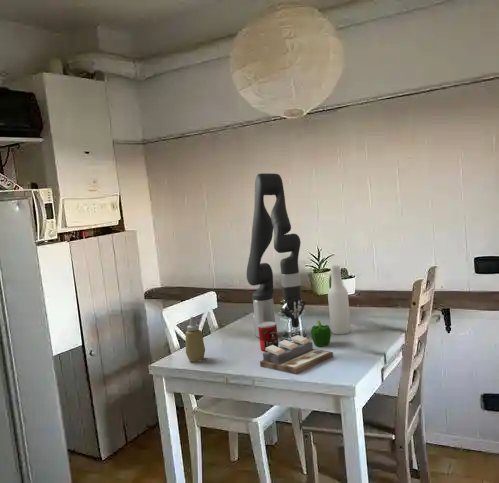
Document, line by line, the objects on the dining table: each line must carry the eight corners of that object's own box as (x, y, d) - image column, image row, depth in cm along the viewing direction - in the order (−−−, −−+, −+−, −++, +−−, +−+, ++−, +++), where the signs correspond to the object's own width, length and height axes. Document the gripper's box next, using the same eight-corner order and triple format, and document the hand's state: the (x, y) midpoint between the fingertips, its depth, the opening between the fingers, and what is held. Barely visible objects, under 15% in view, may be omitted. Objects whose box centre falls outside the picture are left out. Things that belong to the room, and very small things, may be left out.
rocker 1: (265, 351, 216) (265, 347, 216) (272, 348, 219) (272, 344, 219) (277, 356, 212) (277, 353, 212) (284, 353, 215) (285, 350, 214)
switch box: (260, 366, 217) (259, 353, 217) (297, 350, 233) (296, 338, 232) (296, 374, 204) (295, 360, 204) (333, 357, 220) (332, 344, 219)
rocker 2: (278, 346, 222) (278, 342, 221) (285, 343, 224) (285, 339, 224) (290, 351, 217) (291, 347, 217) (297, 348, 220) (297, 344, 220)
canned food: (266, 353, 233) (263, 327, 232) (257, 349, 240) (254, 324, 239) (282, 349, 237) (279, 323, 235) (272, 345, 244) (270, 320, 243)
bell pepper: (331, 347, 232) (329, 323, 231) (311, 348, 234) (309, 324, 233) (332, 341, 241) (330, 318, 240) (313, 342, 242) (310, 319, 241)
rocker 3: (291, 341, 227) (291, 337, 226) (297, 338, 230) (297, 334, 229) (303, 345, 222) (303, 342, 222) (309, 343, 225) (310, 339, 225)
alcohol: (345, 328, 259) (339, 263, 256) (354, 332, 251) (349, 265, 248) (327, 331, 256) (322, 266, 253) (336, 336, 248) (331, 268, 245)
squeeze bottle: (198, 363, 228) (193, 320, 226) (182, 362, 233) (177, 319, 231) (210, 357, 235) (205, 315, 233) (194, 356, 239) (190, 314, 238)
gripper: (294, 280, 233) (299, 322, 234) (273, 287, 223) (277, 330, 225) (309, 281, 227) (313, 323, 229) (287, 288, 218) (292, 332, 220)
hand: (295, 326), depth 227 cm, fingers closed
